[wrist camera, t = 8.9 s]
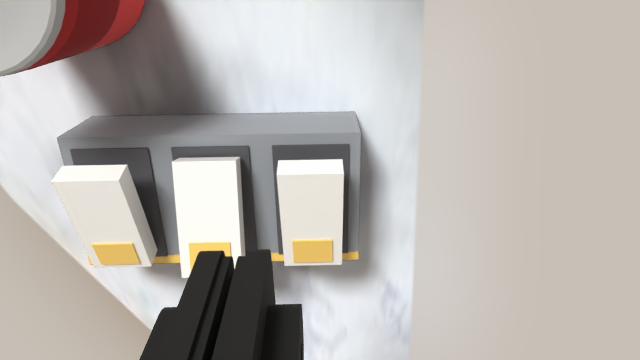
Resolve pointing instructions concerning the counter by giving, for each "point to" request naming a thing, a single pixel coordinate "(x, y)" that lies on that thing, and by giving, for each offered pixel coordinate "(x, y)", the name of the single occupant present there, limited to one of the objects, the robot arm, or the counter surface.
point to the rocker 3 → (311, 211)
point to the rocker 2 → (208, 208)
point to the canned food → (59, 29)
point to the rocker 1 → (106, 214)
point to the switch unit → (222, 141)
